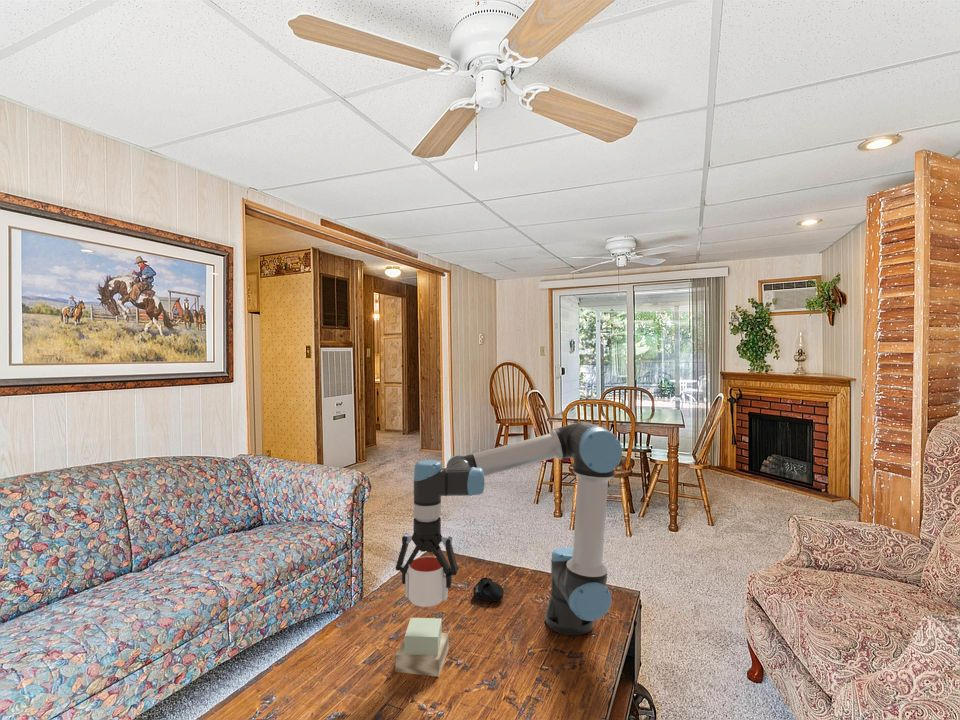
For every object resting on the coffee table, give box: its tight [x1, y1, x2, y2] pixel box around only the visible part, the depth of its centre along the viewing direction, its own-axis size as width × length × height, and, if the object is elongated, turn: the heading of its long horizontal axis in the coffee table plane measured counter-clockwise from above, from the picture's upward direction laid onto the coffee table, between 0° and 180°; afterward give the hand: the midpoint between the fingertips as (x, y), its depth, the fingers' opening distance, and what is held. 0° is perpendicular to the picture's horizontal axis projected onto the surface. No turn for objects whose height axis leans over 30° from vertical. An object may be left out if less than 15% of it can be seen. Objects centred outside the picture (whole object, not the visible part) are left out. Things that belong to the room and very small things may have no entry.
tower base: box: [394, 632, 450, 677], centre depth 135 cm, size 12×12×5 cm
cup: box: [408, 555, 445, 608], centre depth 134 cm, size 10×10×10 cm
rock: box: [472, 577, 505, 602], centre depth 170 cm, size 9×10×10 cm
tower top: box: [404, 617, 443, 656], centre depth 135 cm, size 9×9×5 cm
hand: (426, 596), depth 134 cm, fingers closed on cup, 10 cm apart
